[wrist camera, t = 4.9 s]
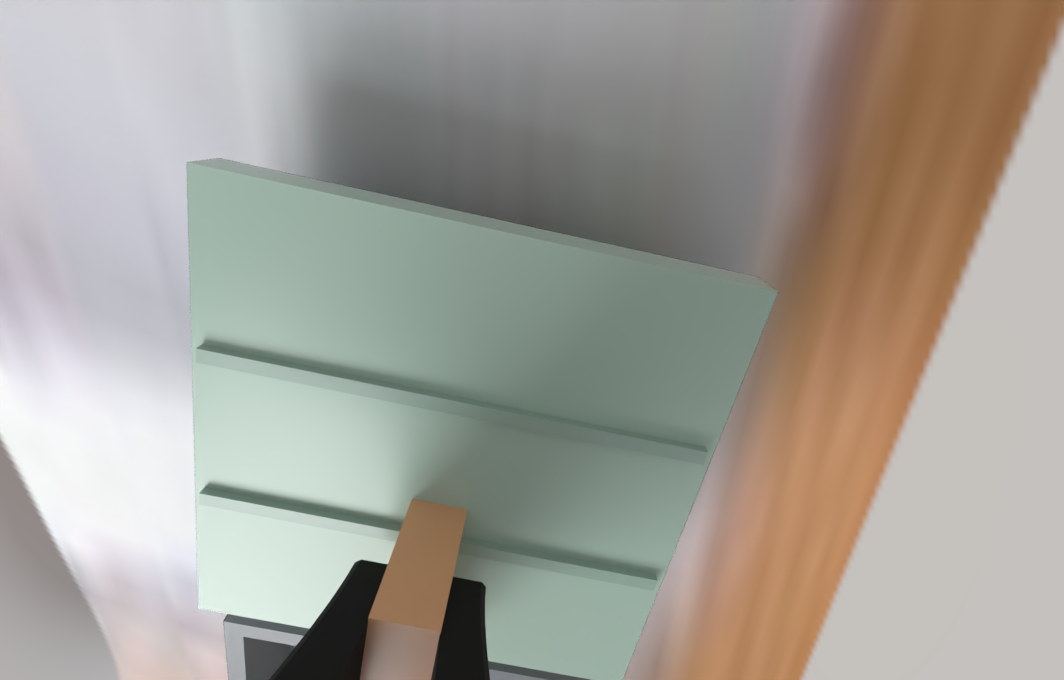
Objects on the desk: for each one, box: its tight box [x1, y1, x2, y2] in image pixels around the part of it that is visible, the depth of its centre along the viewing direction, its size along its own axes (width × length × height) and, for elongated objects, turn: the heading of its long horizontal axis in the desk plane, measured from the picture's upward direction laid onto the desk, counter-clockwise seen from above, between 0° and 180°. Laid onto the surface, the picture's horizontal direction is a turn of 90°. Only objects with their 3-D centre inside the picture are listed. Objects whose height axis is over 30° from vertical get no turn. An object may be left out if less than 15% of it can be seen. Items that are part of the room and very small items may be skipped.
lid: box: [187, 158, 778, 680], centre depth 11 cm, size 10×10×5 cm
